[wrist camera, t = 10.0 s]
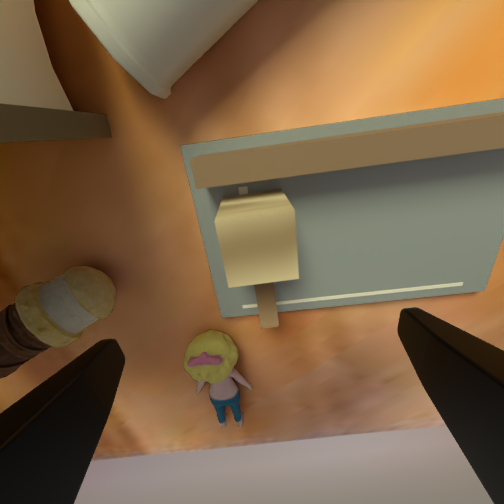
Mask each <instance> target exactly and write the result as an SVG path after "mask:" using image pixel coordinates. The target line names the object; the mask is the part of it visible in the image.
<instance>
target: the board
mask: <svg viewBox="0 0 504 504" xmlns="http://www.w3.org/2000/svg"><path fill="white" fill-rule="evenodd" d="M180 147H181V151H182V155H183V160H184V164H185V168H186V172H187V176H188V180H189V184H190V189H191V193H192V197H193V201H194V205H195V209H196V213H197V218H198V222H199V226H200V230H201V234H202V238H203V242H204V247H205V251H206V255H207V259H208V263H209V267H210V271H211V276H212V280H213V284H214V288H215V292H216V296H217V300H218V305H219V309H220V313H221V317H222V318H227V317H237V316H247V315H256V314H259V312H258V306H257V300H256V294H255V287H254V285H247V286H239V287H232V288H229V287H228V282H227V278H226V273H225V268H224V264H223V259H222V254H221V250H220V245H219V241H218V236H217V231H216V227H215V222H214V221H215V218H216V215H217V212H218V209H219V206H220V203H221V200H222V198H223V197H227V196H234V195H241V194H248V193H255V192H262V191H269V190H276V189H282V191H283V192H284V194H285V195H286V197H287V199H288V200H289V202H290V203H291V205H292V206H293V208H294V210H295V220H296V237H297V253H298V270H299V279H294V280H286V281H278V282H274V287H275V296H276V305H277V312H286V311H295V310H305V309H315V308H325V307H334V306H344V305H354V304H364V303H373V302H383V301H393V300H403V299H412V298H422V297H432V296H442V295H451V294H461V293H471V292H481V291H485V288H486V285H487V282H488V279H489V277H490V274H491V271H492V268H493V265H494V263H495V260H496V257H497V254H498V251H499V248H500V246H501V243H502V240H503V237H504V98H503V99H496V100H489V101H482V102H475V103H468V104H462V105H455V106H448V107H441V108H434V109H427V110H420V111H414V112H407V113H400V114H393V115H386V116H379V117H372V118H366V119H359V120H352V121H345V122H338V123H331V124H324V125H318V126H311V127H304V128H297V129H290V130H283V131H276V132H270V133H263V134H256V135H249V136H242V137H235V138H228V139H222V140H215V141H208V142H201V143H194V144H187V145H181V146H180Z"/></svg>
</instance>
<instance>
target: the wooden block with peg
mask: <svg viewBox="0 0 504 504" xmlns="http://www.w3.org/2000/svg"><path fill="white" fill-rule="evenodd" d="M214 222H215V227H216V231H217V236H218V241H219V245H220V250H221V254H222V259H223V264H224V268H225V273H226V278H227V282H228V287H229V288H232V287H239V286H247V285H254V287H255V294H256V300H257V306H258V312H259V319H260V325H261V329H263V328H271V327H279V322H278V313H277V305H276V296H275V287H274V282H278V281H286V280H294V279H299V270H298V253H297V237H296V220H295V210H294V208H293V206H292V205H291V203H290V202H289V200H288V199H287V197H286V195H285V194H284V192H283V191H282V189H276V190H269V191H262V192H255V193H248V194H241V195H234V196H227V197H223V198H222V200H221V203H220V206H219V209H218V212H217V215H216V218H215V221H214Z"/></svg>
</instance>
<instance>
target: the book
mask: <svg viewBox="0 0 504 504" xmlns="http://www.w3.org/2000/svg"><path fill="white" fill-rule="evenodd" d="M105 137H111V132H110V128H109V124H108V120H107V116H106V114H100V113H90V112H80V111H73V108H72V106H71V104H70V102H69V100H68V98H67V96H66V94H65V92H64V90H63V88H62V86H61V84H60V82H59V80H58V78H57V76H56V74H55V72H54V70H53V68H52V65H51V61H50V58H49V55H48V52H47V48H46V45H45V42H44V39H43V35H42V32H41V29H40V26H39V23H38V19H37V16H36V13H35V6H34V0H0V143H6V142H26V141H46V140H66V139H85V138H105Z"/></svg>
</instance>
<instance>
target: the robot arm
mask: <svg viewBox="0 0 504 504" xmlns="http://www.w3.org/2000/svg"><path fill="white" fill-rule="evenodd" d="M398 335H399V338H400V340H401V342H402V344H403V346H404V348H405V350H406V352H407V354H408V356H409V358H410V361H411V363H412V365H413V367H414V369H415V371H416V373H417V375H418V377H419V379H420V381H421V383H422V385H423V387H424V389H425V390H426V392H427V394H428V396H429V397H430V399H431V400H432V402H433V404H434V405H435V407H436V409H437V410H438V412H439V414H440V415H441V417H442V419H443V420H444V422H445V424H446V425H447V427H448V428H449V430H450V432H451V433H452V435H453V437H454V438H455V440H456V442H457V443H458V445H459V447H460V448H461V450H462V452H463V453H464V455H465V456H466V458H467V460H468V461H469V463H470V465H471V466H472V468H473V470H474V471H475V473H476V475H477V476H478V478H479V480H480V481H481V483H482V485H483V486H484V488H485V489H486V491H487V493H488V494H489V496H490V498H491V499H492V501H493V502H494V504H504V351H503V350H501V349H499V348H497V347H495V346H493V345H491V344H489V343H487V342H485V341H483V340H481V339H479V338H477V337H475V336H473V335H471V334H469V333H467V332H465V331H463V330H461V329H459V328H457V327H455V326H453V325H451V324H449V323H447V322H445V321H443V320H441V319H439V318H437V317H435V316H433V315H431V314H429V313H427V312H425V311H423V310H421V309H419V308H415V307H414V308H404V309H402V310H401V312H400V318H399V323H398ZM124 365H125V356H124V353H123V352H122V350H121V348H120V346H119V344H118V342H117V340H115V339H104V340H101V341H99V342H98V343H96V344H95V345H93V346H92V347H91V348H89V349H88V350H87V351H85V352H84V353H83V354H81V355H80V356H78V357H77V358H76V359H74V360H73V361H72V362H70V363H69V364H67V365H66V366H65V367H63V368H62V369H61V370H59V371H58V372H57V373H55V374H54V375H52V376H51V377H50V378H48V379H47V380H46V381H44V382H43V383H42V384H40V385H39V386H37V387H36V388H35V389H33V390H32V391H31V392H29V393H28V394H26V395H25V396H24V397H22V398H21V399H20V400H18V401H17V402H16V403H14V404H13V405H11V406H10V407H9V408H7V409H6V410H5V411H3V412H2V413H1V414H0V504H74V502H75V499H76V497H77V494H78V492H79V489H80V487H81V484H82V482H83V479H84V477H85V474H86V472H87V469H88V467H89V464H90V462H91V459H92V457H93V454H94V452H95V449H96V447H97V444H98V442H99V439H100V437H101V434H102V432H103V429H104V427H105V424H106V422H107V419H108V417H109V414H110V411H111V408H112V405H113V402H114V398H115V395H116V391H117V388H118V385H119V381H120V378H121V375H122V371H123V368H124Z"/></svg>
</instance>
